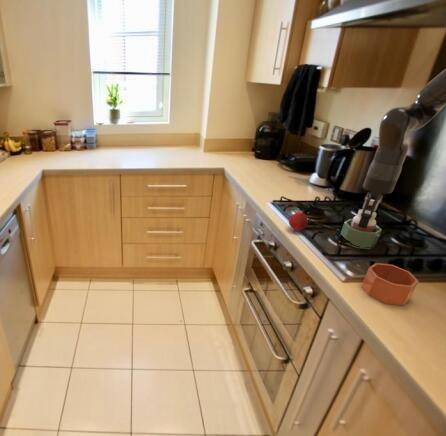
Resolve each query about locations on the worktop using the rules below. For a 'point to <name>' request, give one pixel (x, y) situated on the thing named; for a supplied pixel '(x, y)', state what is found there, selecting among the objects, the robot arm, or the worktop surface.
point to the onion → (298, 221)
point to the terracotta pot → (389, 284)
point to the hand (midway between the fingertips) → (364, 222)
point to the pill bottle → (370, 225)
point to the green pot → (360, 236)
